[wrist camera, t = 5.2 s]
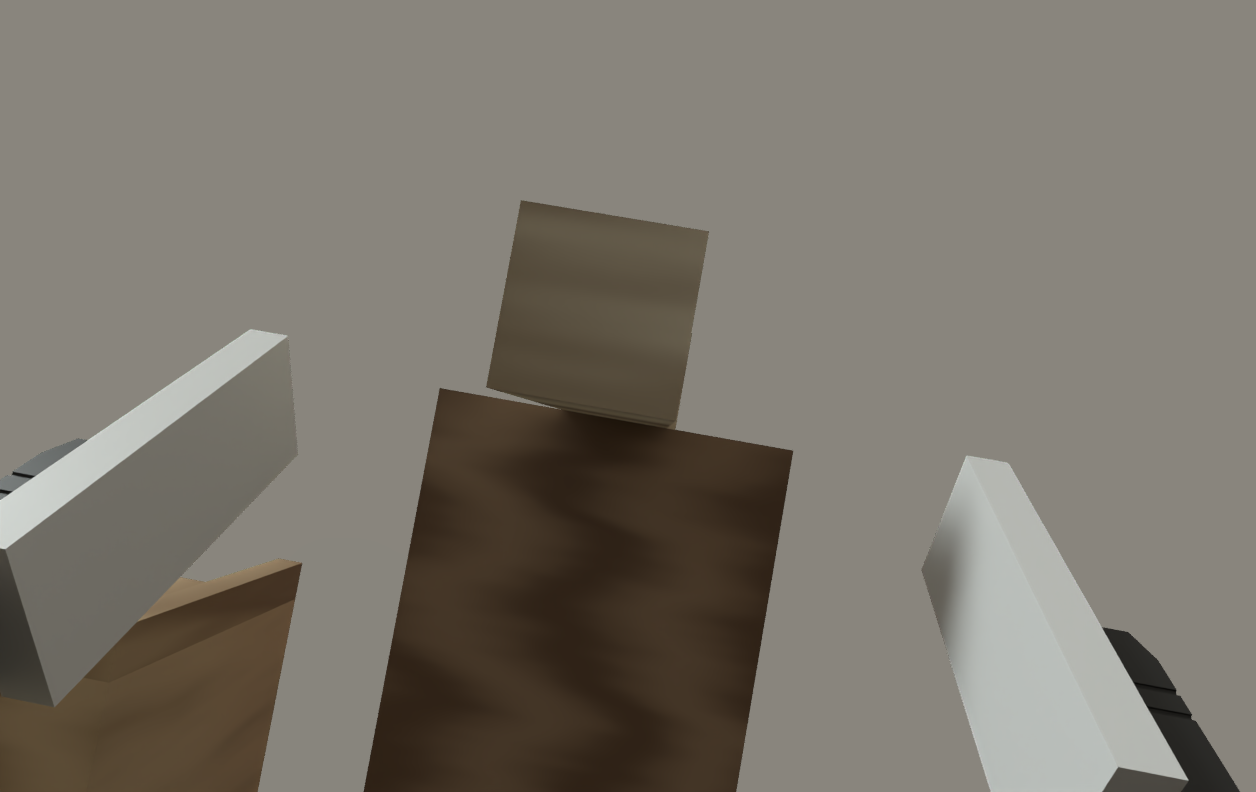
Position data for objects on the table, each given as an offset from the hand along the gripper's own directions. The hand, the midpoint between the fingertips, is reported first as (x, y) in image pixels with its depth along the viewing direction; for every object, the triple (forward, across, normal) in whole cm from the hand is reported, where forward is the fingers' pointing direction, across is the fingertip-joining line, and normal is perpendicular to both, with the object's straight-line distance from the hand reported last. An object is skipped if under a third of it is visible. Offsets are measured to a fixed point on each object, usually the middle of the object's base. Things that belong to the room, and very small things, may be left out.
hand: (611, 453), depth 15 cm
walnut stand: (+1, -1, -35) cm, 35 cm away
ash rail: (+11, -1, -5) cm, 12 cm away
